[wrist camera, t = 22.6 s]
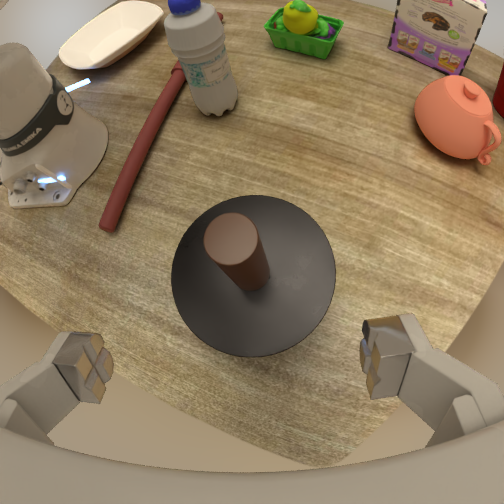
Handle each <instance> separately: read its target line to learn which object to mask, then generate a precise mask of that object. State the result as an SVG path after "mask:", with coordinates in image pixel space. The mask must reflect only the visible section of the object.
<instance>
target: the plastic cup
mask: <svg viewBox="0 0 504 504" xmlns="http://www.w3.org/2000/svg"><path fill="white" fill-rule="evenodd" d="M493 105H494V107H495V109H496V110H497V112H498V113H499V114H500V115H501V116H502V117H503V118H504V64H503V68H502V71H501V74H500V78H499V81H498V84H497V88H496V91H495V94H494V97H493Z"/></svg>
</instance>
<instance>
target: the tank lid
mask: <svg viewBox="0 0 504 504" xmlns="http://www.w3.org/2000/svg"><path fill="white" fill-rule="evenodd" d="M335 282H336V268H335V260H334V256H333V252H332V249H331V246H330V244H329V241H328V239H327V237H326V235H325V234H324V232H323V230H322V229H321V228H320V226H319V225H318V224H317V223H316V221H315V220H314V219H313V218H312V217H311V216H310V215H308V214H307V213H306V212H304V211H303V210H302V209H300V208H299V207H297V206H295V205H294V204H292V203H289V202H287V201H285V200H282V199H278V198H275V197H270V196H263V195H249V196H241V197H236V198H232V199H229V200H226V201H223V202H221V203H219V204H217V205H215V206H213V207H212V208H210V209H209V210H207V211H206V212H204V213H203V214H202V215H201V216H199V217H198V218H197V219H196V220H195V221H194V222H193V223H192V225H191V226H190V227H189V228H188V230H187V231H186V232H185V234H184V235H183V237H182V239H181V241H180V243H179V245H178V247H177V250H176V252H175V256H174V260H173V264H172V272H171V284H172V292H173V297H174V300H175V304H176V306H177V309H178V311H179V314H180V315H181V317H182V319H183V320H184V322H185V324H186V325H187V326H188V327H189V329H190V330H191V331H192V332H193V333H194V334H195V335H196V336H197V337H198V338H199V339H200V340H202V341H203V342H205V343H206V344H207V345H209V346H211V347H213V348H214V349H216V350H219V351H221V352H224V353H226V354H230V355H234V356H239V357H263V356H269V355H273V354H277V353H280V352H283V351H285V350H287V349H289V348H291V347H293V346H295V345H296V344H298V343H299V342H301V341H302V340H304V339H305V338H306V337H307V336H308V335H309V334H310V333H311V332H312V331H313V330H314V329H315V328H316V327H317V326H318V324H319V323H320V322H321V320H322V319H323V317H324V315H325V314H326V312H327V310H328V308H329V305H330V303H331V300H332V297H333V293H334V288H335Z"/></svg>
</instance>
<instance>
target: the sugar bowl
mask: <svg viewBox="0 0 504 504" xmlns="http://www.w3.org/2000/svg"><path fill="white" fill-rule="evenodd" d="M414 111H415V117H416V120H417V123H418V125H419V127H420V129H421V130H422V132H423V134H424V135H425V136H426V138H427V139H428V140H429V141H430V142H431V143H432V144H433V145H434V146H435V147H436V148H438V149H439V150H440V151H442V152H444V153H446V154H448V155H450V156H453V157H456V158H461V159H472V158H476V157H477V158H478V161H479V162H480V163H481V164H483V165H488V164H490V162H491V156H490V155H489V154H488V153H489V152H491V151H493V150H495V149H496V148H497V147H498V146H499V145H500V143H501V133H500V131H499V129H498V128H497V126H496V125H495V124H494V122H493V110H492V106H491V102H490V100H489V98H488V96H487V95H486V93H485V92H484V91H483V89H482V88H481V87H480V86H478V85H477V84H476V83H475V82H473V81H472V80H470V79H468V78H466V77H463V76H459V75H450V76H446V77H443V78H440V79H438V80H435V81H433V82H432V83H430V84H429V85H427V86H426V87H425V88H424V89H423V90H422V91H421V93H420V94H419V95H418V97H417V99H416V102H415V106H414ZM492 134H493V135H494V138H495V141H494V143H493V144H492V145H490V146H488V145H489V143H490V141H491V138H492ZM484 156H485V157H484Z"/></svg>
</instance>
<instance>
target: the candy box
mask: <svg viewBox="0 0 504 504" xmlns="http://www.w3.org/2000/svg"><path fill="white" fill-rule="evenodd" d="M486 15H487V7H486V1H485V0H397V7H396V11H395V17H394V22H393V27H392V32H391V36H390V41H389V44H388V48H389V49H391V50H393V51H396V52H398V53H401V54H403V55H406V56H408V57H410V58H412V59H415V60H417V61H419V62H421V63H423V64H426V65H428V66H430V67H432V68H434V69H436V70H438V71H440V72H442V73H444V74H446V75H448V76H450V75H459V76H461V74H462V72H463V69H464V67H465V65H466V63H467V61H468V58H469V56H470V54H471V51H472V49H473V47H474V44H475V42H476V39H477V37H478V35H479V32H480V30H481V27H482V25H483V22H484V20H485V17H486Z"/></svg>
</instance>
